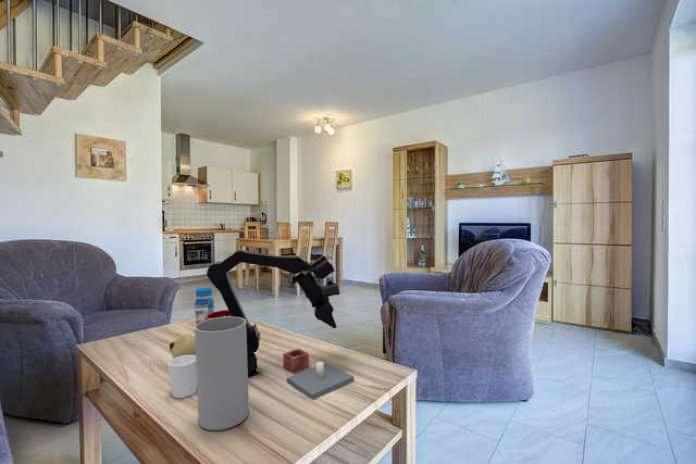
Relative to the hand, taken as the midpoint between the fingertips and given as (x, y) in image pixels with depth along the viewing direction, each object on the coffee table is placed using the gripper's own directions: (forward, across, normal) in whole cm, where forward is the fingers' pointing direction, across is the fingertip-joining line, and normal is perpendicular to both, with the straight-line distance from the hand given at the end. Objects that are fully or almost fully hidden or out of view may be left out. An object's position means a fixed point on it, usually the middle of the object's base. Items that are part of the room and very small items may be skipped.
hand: (333, 323), depth 121 cm
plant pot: (-9, +32, +46) cm, 57 cm away
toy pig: (-14, +11, +53) cm, 56 cm away
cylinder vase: (-5, -27, +35) cm, 45 cm away
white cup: (-12, -11, +48) cm, 51 cm away
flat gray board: (+9, -13, +13) cm, 20 cm away
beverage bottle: (-14, +46, +55) cm, 74 cm away
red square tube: (+5, -1, +19) cm, 20 cm away
